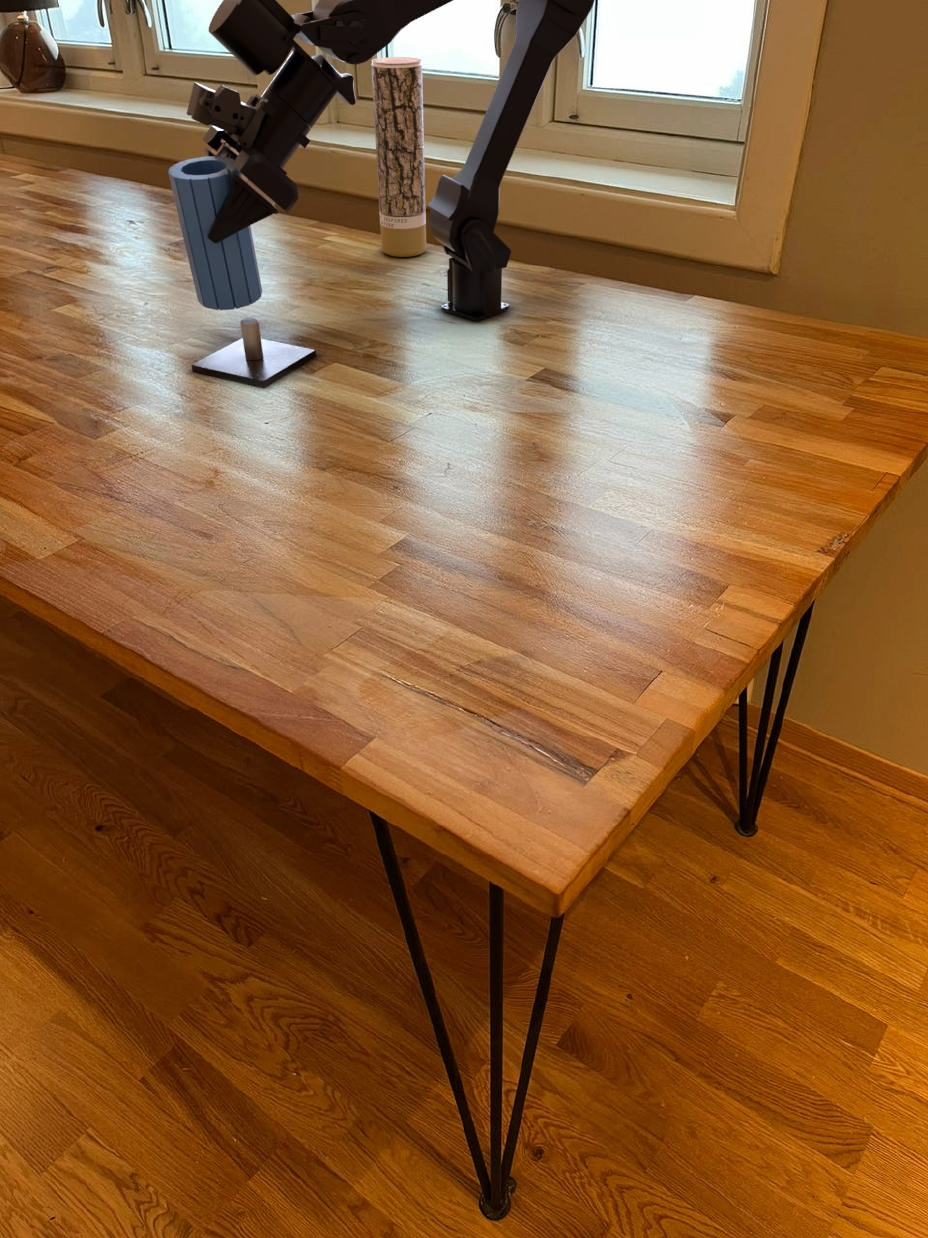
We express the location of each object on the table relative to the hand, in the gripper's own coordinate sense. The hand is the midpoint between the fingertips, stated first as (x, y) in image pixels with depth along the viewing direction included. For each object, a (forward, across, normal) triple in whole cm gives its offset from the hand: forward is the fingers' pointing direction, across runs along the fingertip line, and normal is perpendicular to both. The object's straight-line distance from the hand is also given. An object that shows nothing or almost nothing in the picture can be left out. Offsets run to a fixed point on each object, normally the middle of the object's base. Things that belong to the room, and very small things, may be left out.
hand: (203, 231), depth 101 cm
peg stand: (+8, +6, +11) cm, 15 cm away
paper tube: (-14, -28, +34) cm, 46 cm away
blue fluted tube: (+4, -1, +7) cm, 8 cm away
